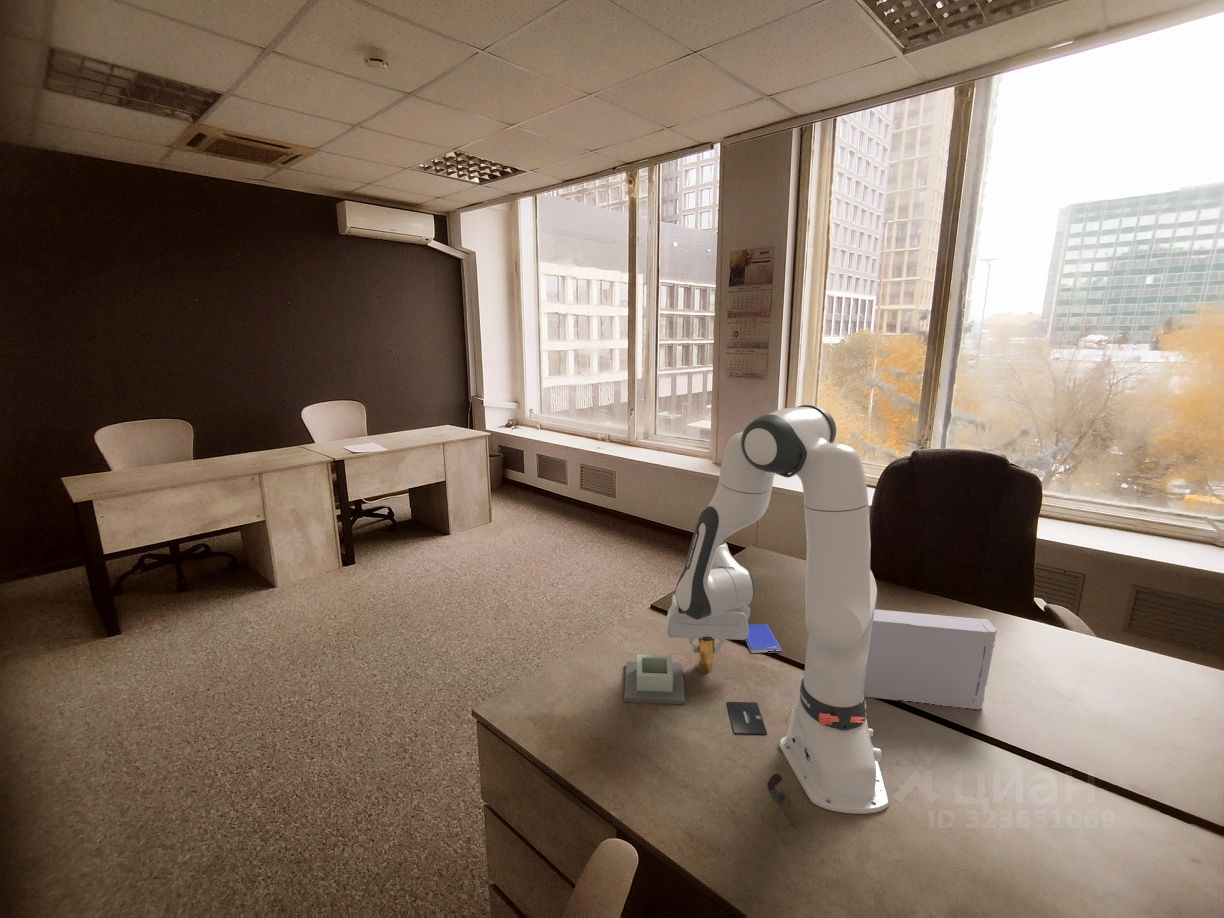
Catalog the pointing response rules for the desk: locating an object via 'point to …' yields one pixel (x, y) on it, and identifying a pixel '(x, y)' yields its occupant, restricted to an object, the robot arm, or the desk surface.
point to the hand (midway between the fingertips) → (705, 651)
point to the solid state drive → (746, 718)
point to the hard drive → (761, 639)
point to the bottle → (705, 654)
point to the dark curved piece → (777, 793)
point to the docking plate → (654, 680)
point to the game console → (929, 658)
